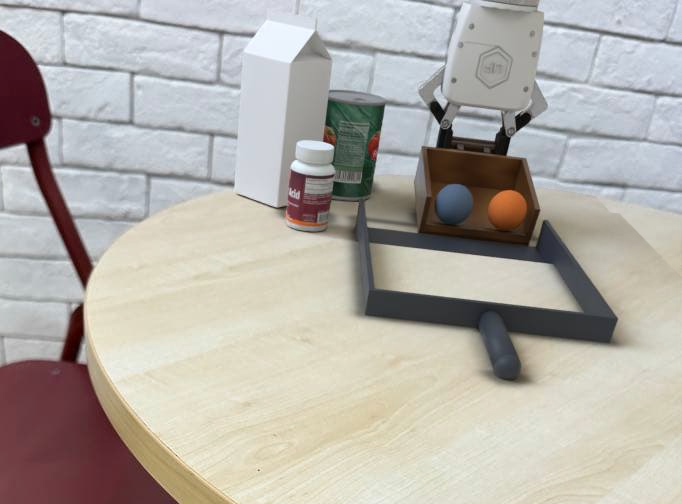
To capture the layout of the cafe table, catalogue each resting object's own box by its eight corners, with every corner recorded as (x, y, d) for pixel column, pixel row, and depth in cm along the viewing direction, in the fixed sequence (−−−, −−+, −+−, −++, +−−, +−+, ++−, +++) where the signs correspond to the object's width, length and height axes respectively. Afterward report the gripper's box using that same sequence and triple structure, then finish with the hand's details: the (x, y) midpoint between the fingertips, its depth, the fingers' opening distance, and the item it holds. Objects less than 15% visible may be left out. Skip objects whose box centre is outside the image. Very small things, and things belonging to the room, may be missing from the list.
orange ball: (531, 217, 91) (519, 240, 95) (532, 184, 92) (520, 208, 97) (493, 212, 91) (482, 236, 95) (494, 179, 92) (483, 204, 96)
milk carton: (276, 209, 98) (294, 18, 87) (233, 193, 102) (245, 8, 90) (316, 201, 103) (338, 18, 91) (273, 186, 106) (289, 8, 95)
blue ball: (476, 211, 91) (466, 234, 95) (478, 178, 92) (468, 201, 96) (438, 207, 91) (429, 230, 95) (440, 173, 92) (431, 197, 96)
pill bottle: (280, 218, 95) (288, 138, 90) (320, 219, 97) (330, 140, 92) (290, 232, 92) (299, 149, 87) (332, 233, 93) (343, 151, 88)
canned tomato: (297, 184, 108) (308, 88, 101) (348, 182, 111) (362, 89, 105) (331, 202, 103) (344, 102, 96) (383, 199, 106) (399, 102, 100)
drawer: (512, 182, 106) (524, 142, 103) (528, 247, 96) (542, 205, 92) (412, 170, 106) (421, 130, 102) (417, 234, 96) (427, 191, 92)
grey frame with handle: (354, 228, 95) (359, 197, 93) (539, 249, 96) (547, 220, 94) (366, 378, 64) (374, 338, 62) (639, 409, 65) (655, 370, 63)
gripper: (431, -16, 90) (400, 165, 101) (591, 4, 90) (543, 182, 101) (425, -20, 96) (396, 151, 107) (575, -2, 96) (531, 167, 107)
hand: (468, 164), depth 104 cm, fingers closed on drawer, 5 cm apart
